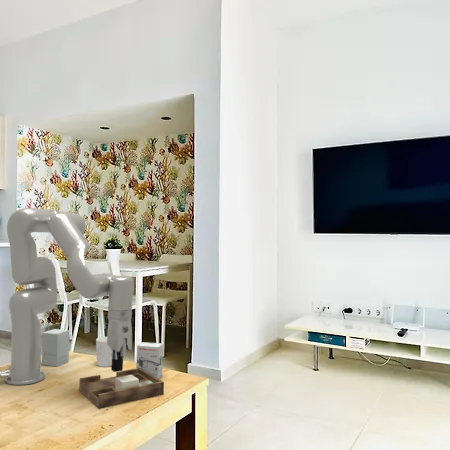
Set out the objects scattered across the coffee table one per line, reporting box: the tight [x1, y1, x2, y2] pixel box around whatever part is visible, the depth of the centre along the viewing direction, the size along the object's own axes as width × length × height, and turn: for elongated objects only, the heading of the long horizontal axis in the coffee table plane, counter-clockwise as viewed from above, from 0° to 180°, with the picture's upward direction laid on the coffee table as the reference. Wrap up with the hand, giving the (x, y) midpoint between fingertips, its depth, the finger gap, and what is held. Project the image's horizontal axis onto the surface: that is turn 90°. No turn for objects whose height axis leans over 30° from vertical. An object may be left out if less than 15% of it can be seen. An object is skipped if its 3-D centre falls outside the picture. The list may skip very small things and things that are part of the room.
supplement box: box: [41, 328, 70, 367], centre depth 177 cm, size 7×7×13 cm
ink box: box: [135, 342, 164, 379], centre depth 163 cm, size 9×5×12 cm, turn 81°
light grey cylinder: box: [95, 336, 112, 368], centre depth 177 cm, size 8×8×10 cm
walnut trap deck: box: [78, 367, 165, 410], centre depth 147 cm, size 22×18×4 cm
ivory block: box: [115, 375, 139, 390], centre depth 143 cm, size 6×6×4 cm
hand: (116, 370), depth 146 cm, fingers closed
